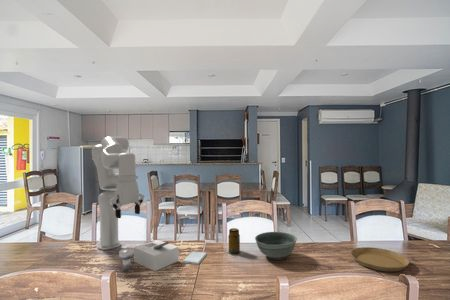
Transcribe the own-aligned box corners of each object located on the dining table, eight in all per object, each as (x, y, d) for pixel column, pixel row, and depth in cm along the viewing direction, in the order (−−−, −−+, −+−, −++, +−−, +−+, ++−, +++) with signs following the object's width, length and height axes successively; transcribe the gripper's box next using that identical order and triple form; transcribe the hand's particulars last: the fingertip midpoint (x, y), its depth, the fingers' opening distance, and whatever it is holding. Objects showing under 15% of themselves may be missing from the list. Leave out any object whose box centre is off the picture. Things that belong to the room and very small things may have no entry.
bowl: (298, 267, 121) (298, 245, 121) (253, 263, 125) (253, 242, 125) (295, 250, 141) (295, 231, 141) (256, 247, 145) (256, 229, 145)
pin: (116, 270, 120) (116, 250, 120) (129, 265, 125) (129, 246, 125) (124, 274, 116) (123, 254, 116) (136, 269, 121) (136, 249, 121)
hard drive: (192, 251, 139) (182, 260, 127) (206, 252, 137) (197, 262, 125) (192, 254, 139) (182, 264, 127) (206, 255, 137) (198, 265, 125)
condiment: (234, 248, 145) (234, 226, 145) (245, 252, 138) (245, 230, 138) (224, 251, 140) (224, 229, 140) (235, 256, 134) (234, 233, 134)
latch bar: (153, 249, 126) (152, 247, 127) (161, 246, 130) (161, 244, 130) (161, 246, 123) (160, 243, 123) (169, 243, 126) (168, 240, 127)
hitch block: (133, 261, 129) (133, 247, 129) (157, 252, 140) (157, 239, 140) (154, 271, 118) (154, 255, 118) (178, 260, 129) (178, 246, 129)
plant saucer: (339, 257, 132) (339, 250, 132) (374, 250, 140) (374, 244, 140) (383, 279, 109) (383, 271, 109) (422, 269, 118) (421, 261, 118)
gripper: (138, 177, 132) (139, 211, 132) (105, 180, 119) (106, 218, 118) (147, 178, 128) (148, 213, 127) (113, 181, 114) (114, 220, 113)
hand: (128, 215), depth 123 cm, fingers open, 9 cm apart
